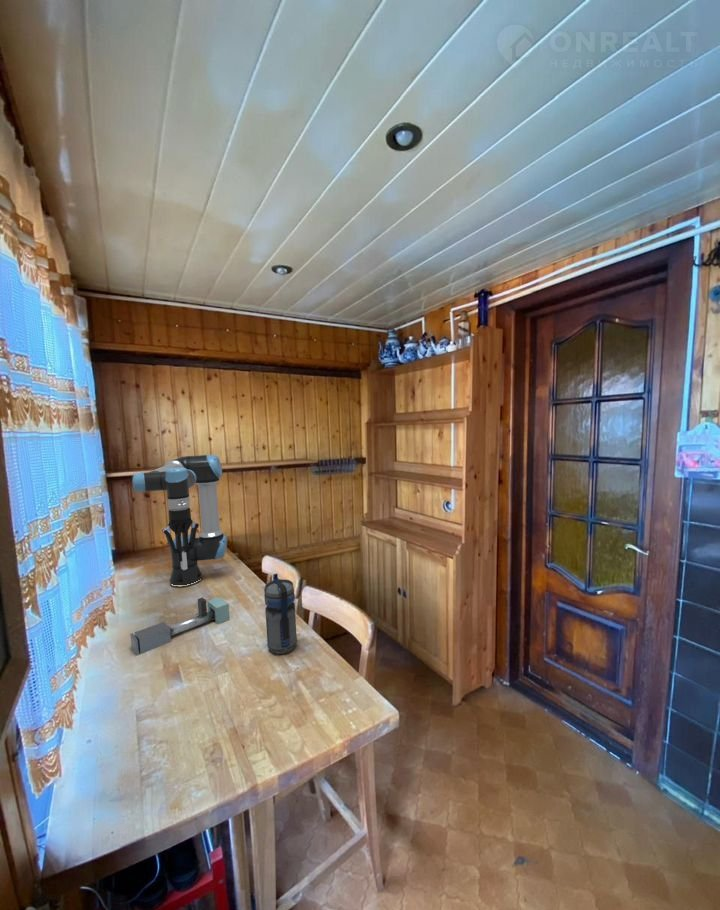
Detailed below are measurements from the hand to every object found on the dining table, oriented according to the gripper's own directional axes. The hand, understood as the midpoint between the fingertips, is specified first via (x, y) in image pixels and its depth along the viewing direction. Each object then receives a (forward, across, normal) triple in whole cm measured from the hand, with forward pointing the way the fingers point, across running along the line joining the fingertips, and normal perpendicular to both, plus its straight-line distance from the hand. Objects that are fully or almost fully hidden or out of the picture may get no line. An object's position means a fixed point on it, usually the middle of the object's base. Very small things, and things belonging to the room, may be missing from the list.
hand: (184, 568), depth 144 cm
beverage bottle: (+24, +18, -39) cm, 49 cm away
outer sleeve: (+24, -13, -1) cm, 28 cm away
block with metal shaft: (+24, +1, -1) cm, 24 cm away
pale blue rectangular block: (+24, +12, -1) cm, 27 cm away
